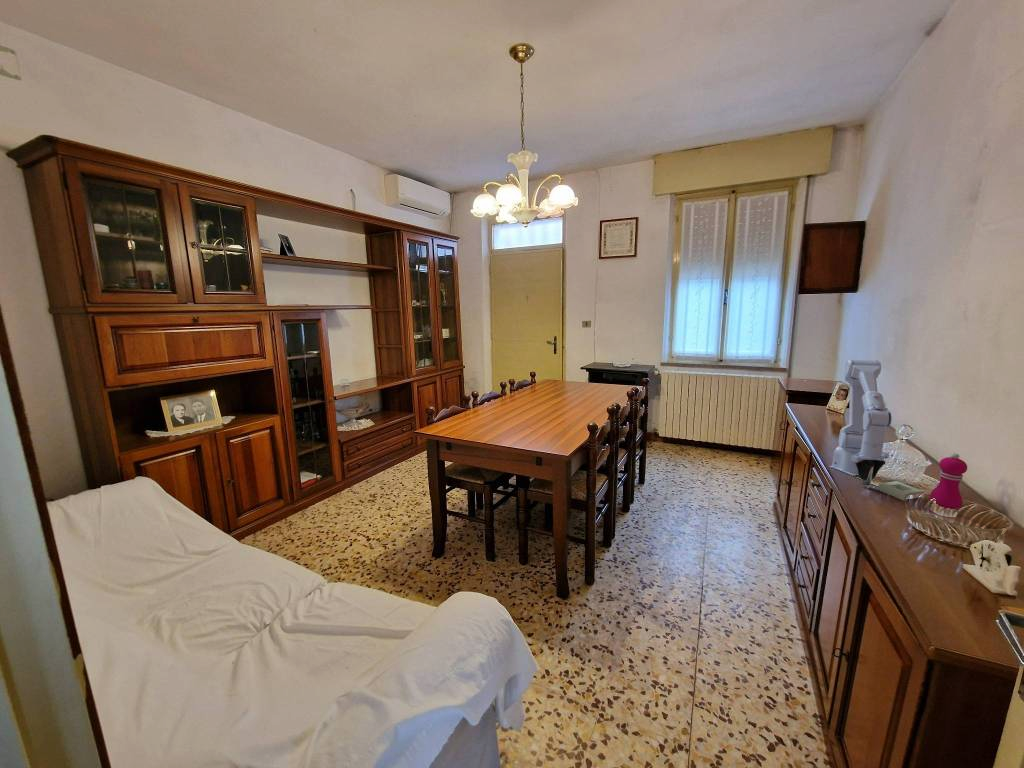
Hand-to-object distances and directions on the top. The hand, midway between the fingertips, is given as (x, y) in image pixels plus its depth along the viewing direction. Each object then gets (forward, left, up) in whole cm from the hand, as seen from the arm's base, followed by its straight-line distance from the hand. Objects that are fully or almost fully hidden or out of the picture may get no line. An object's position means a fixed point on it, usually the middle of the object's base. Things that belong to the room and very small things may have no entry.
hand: (866, 478), depth 149 cm
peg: (0, 0, -2) cm, 2 cm away
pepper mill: (+20, +5, -4) cm, 21 cm away
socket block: (+7, +6, -3) cm, 10 cm away
